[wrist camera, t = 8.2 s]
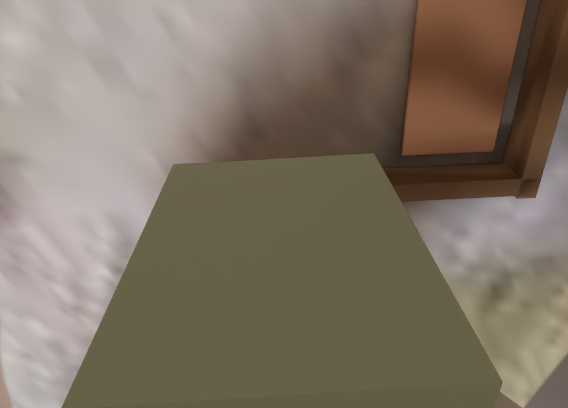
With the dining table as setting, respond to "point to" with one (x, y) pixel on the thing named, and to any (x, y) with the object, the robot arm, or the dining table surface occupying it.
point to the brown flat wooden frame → (480, 97)
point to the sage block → (283, 299)
